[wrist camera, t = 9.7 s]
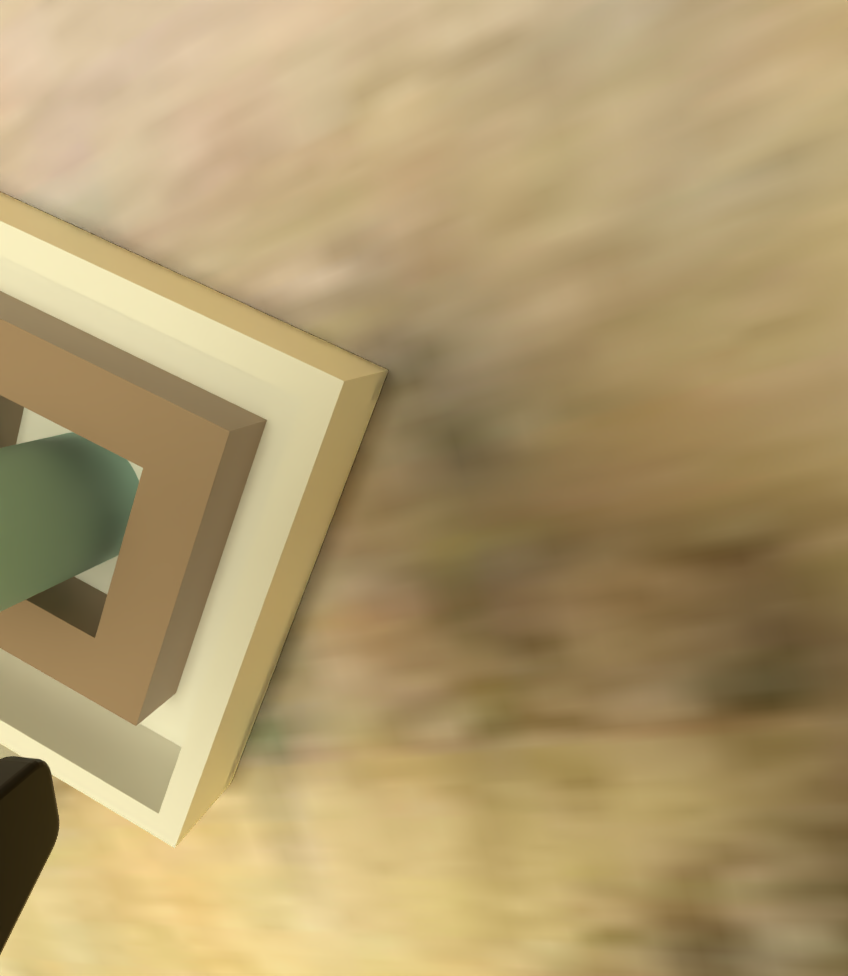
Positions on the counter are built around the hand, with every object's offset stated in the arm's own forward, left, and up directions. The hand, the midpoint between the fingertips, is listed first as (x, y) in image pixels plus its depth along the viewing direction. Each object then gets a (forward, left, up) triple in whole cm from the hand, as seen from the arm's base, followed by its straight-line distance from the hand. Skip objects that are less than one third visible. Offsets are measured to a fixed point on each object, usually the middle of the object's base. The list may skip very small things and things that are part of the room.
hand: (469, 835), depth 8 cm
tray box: (+13, +6, -13) cm, 19 cm away
